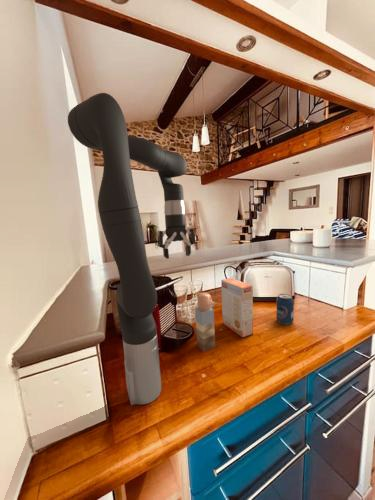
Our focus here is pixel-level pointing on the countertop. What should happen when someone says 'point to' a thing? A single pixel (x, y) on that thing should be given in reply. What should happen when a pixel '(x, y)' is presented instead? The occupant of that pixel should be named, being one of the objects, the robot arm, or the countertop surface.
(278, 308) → the soda can
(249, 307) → the cracker box
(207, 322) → the tower top
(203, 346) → the tower base
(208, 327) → the tower mid
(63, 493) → the countertop surface
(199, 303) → the pink rounded cylinder
